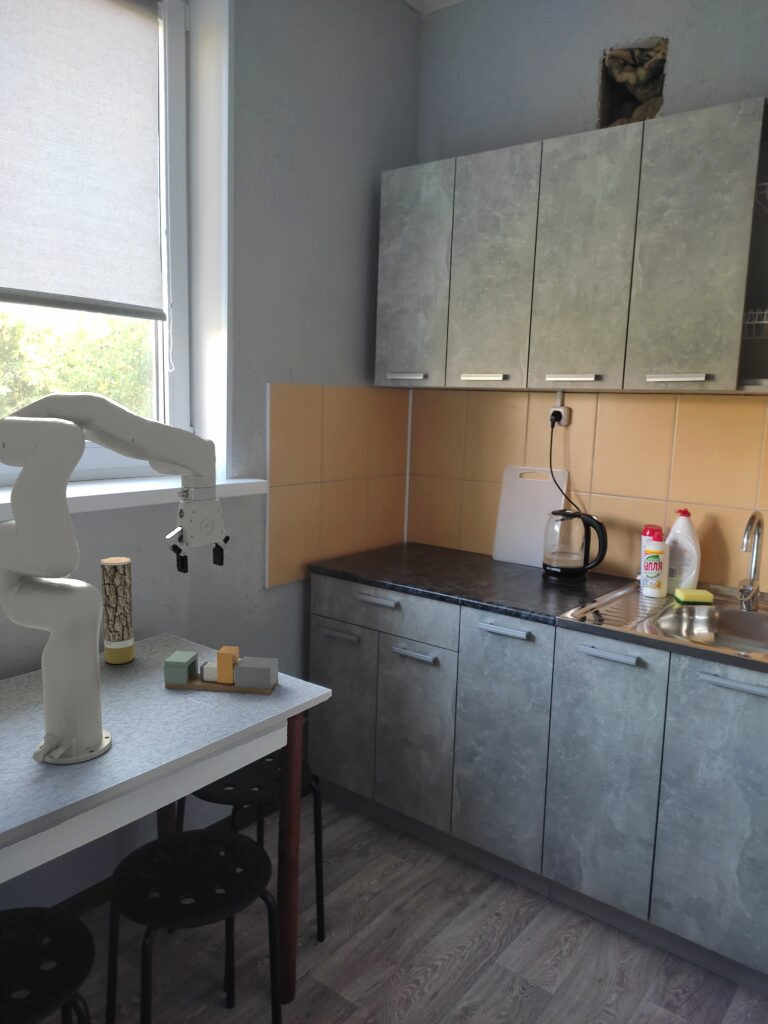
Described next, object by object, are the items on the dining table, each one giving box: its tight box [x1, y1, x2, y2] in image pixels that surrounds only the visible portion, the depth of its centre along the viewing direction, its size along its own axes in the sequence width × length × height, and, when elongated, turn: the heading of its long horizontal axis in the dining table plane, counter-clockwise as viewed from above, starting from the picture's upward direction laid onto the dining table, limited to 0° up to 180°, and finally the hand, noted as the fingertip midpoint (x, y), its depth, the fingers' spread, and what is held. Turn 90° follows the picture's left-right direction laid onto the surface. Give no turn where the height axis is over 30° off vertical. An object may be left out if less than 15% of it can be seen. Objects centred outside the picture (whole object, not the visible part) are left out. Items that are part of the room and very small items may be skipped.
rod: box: [199, 645, 240, 684], centre depth 163 cm, size 4×15×7 cm, turn 82°
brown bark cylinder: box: [100, 556, 135, 665], centre depth 177 cm, size 7×7×25 cm
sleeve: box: [235, 655, 279, 689], centre depth 163 cm, size 6×8×5 cm
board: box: [164, 672, 279, 696], centre depth 164 cm, size 7×24×1 cm, turn 82°
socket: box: [163, 650, 199, 684], centre depth 165 cm, size 7×5×5 cm
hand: (200, 568), depth 167 cm, fingers open, 9 cm apart
